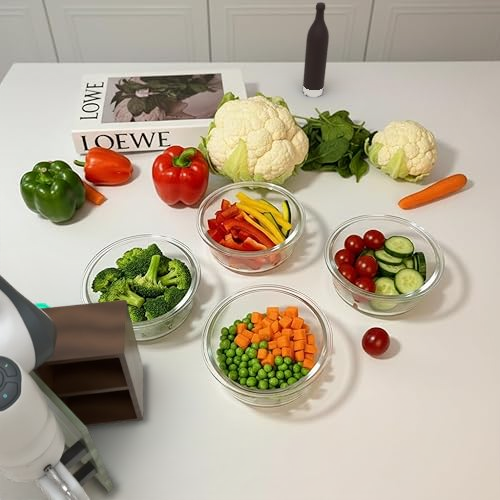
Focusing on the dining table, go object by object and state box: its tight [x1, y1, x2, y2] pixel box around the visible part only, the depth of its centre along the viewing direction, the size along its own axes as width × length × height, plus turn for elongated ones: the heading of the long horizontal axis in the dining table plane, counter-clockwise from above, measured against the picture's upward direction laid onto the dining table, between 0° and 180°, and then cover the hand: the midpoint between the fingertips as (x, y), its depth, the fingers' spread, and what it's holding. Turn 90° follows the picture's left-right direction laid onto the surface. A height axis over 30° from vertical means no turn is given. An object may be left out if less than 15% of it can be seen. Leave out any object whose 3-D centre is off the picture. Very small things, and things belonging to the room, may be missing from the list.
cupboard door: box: [28, 371, 114, 493], centre depth 86 cm, size 7×15×22 cm, turn 48°
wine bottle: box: [302, 2, 330, 90], centre depth 176 cm, size 7×7×30 cm
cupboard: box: [33, 299, 145, 428], centre depth 96 cm, size 11×15×22 cm
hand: (54, 485), depth 82 cm, fingers open, 8 cm apart
